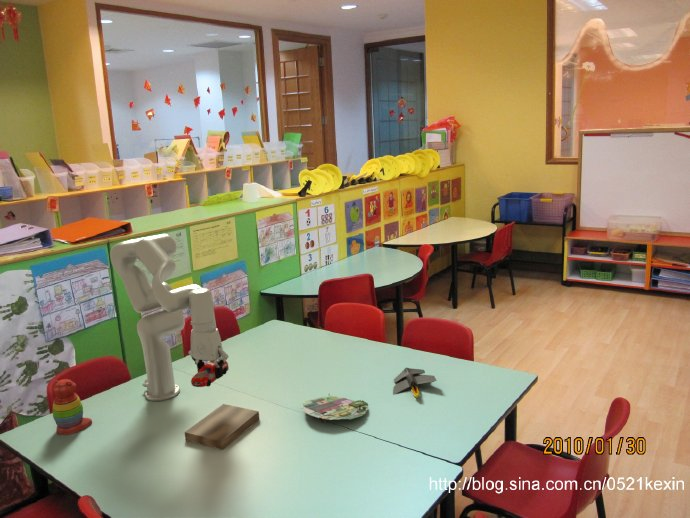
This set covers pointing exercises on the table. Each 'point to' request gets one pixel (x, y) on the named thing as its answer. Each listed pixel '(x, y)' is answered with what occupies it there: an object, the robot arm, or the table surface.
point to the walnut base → (222, 426)
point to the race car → (207, 374)
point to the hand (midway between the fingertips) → (210, 375)
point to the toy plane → (411, 380)
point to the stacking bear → (68, 408)
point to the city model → (334, 408)
